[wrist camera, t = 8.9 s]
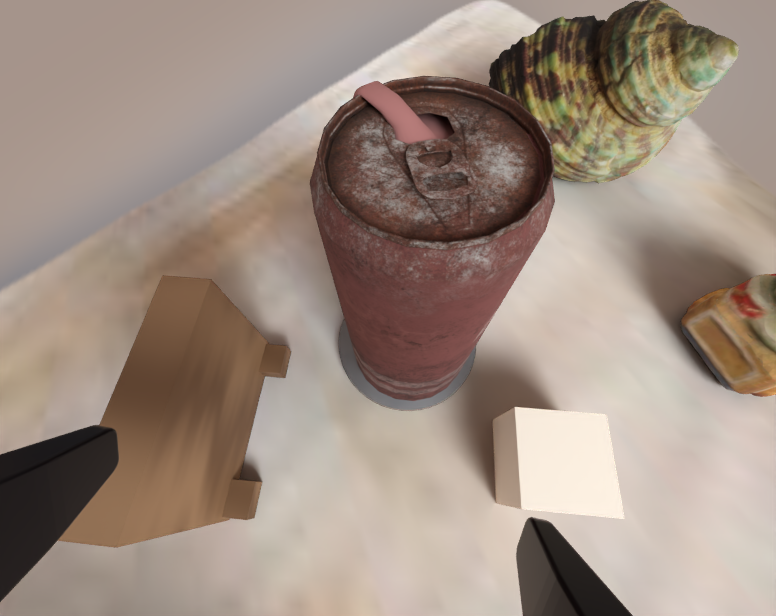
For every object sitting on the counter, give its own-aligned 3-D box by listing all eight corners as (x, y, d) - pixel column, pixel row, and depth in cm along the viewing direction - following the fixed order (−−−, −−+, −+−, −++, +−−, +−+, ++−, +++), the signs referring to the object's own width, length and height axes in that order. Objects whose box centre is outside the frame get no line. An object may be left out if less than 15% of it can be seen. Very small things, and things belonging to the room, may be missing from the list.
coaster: (474, 417, 20) (476, 416, 19) (329, 403, 20) (328, 402, 20) (473, 289, 23) (475, 285, 23) (349, 279, 23) (349, 275, 23)
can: (401, 282, 23) (414, 32, 10) (482, 347, 21) (623, 138, 8) (331, 348, 21) (239, 142, 8) (413, 427, 19) (456, 314, 6)
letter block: (577, 510, 18) (624, 518, 14) (495, 503, 18) (521, 509, 14) (566, 424, 20) (606, 412, 16) (492, 418, 20) (514, 404, 16)
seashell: (577, 91, 31) (651, -66, 22) (666, 182, 27) (805, 31, 18) (468, 123, 30) (501, -32, 21) (543, 225, 25) (627, 83, 16)
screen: (253, 522, 18) (155, 552, 10) (166, 512, 18) (12, 535, 11) (291, 348, 21) (240, 281, 14) (220, 342, 22) (133, 273, 14)
